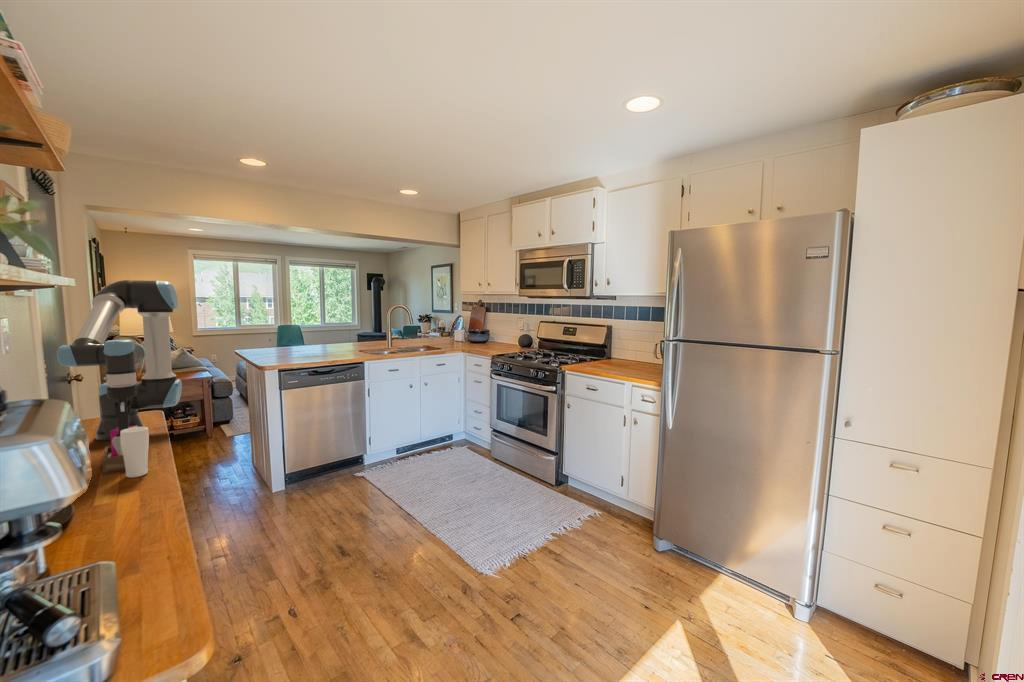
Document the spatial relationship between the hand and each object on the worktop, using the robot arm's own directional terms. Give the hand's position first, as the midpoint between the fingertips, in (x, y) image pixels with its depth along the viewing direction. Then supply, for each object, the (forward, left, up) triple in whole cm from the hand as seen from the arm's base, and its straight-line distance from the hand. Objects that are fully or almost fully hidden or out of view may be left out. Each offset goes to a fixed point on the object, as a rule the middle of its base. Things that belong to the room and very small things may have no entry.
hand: (126, 450), depth 147 cm
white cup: (+15, +6, -5) cm, 17 cm away
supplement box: (0, 0, -4) cm, 4 cm away
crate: (0, 0, -5) cm, 5 cm away
